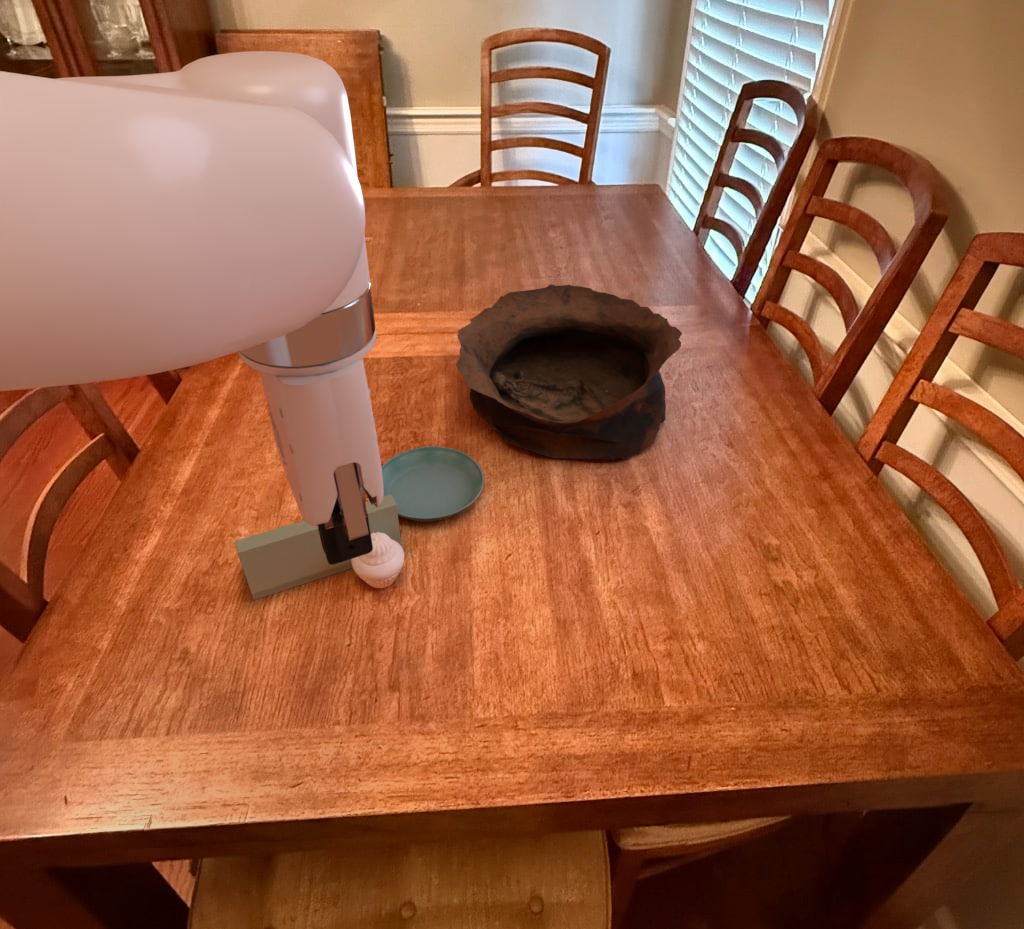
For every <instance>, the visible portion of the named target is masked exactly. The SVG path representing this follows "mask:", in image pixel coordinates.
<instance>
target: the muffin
mask: <svg viewBox="0 0 1024 929" xmlns="http://www.w3.org/2000/svg"><path fill="white" fill-rule="evenodd" d="M371 539H372V546H373V550H372V551H371V552H370V553H368V554H365V555H362V556H359V557H355V558H352V559H351V562H352V567H353V568H352V569H353V571H354V573H355V574H356V575H357V576H358V578H360V579H361V580H363V582H365V583H366V584H367V585H369V586H370V587H372V588H374V589H385V588H388V587H390V586H391V585H392V584H393V583H394V582H395V580H396V579H397V578H398V576H399V574H400V573H401V571H402V569H403V566H404V564H405V559H406V558H405V551H404V548H403V547H401V545H402V544H401V545H400V544H399V543H398V542H396V541H395V540H393V539H390V537H389V536H388V535H386V534H385V533H380V532H377V533H374V532H373V533H372V534H371Z"/></svg>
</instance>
